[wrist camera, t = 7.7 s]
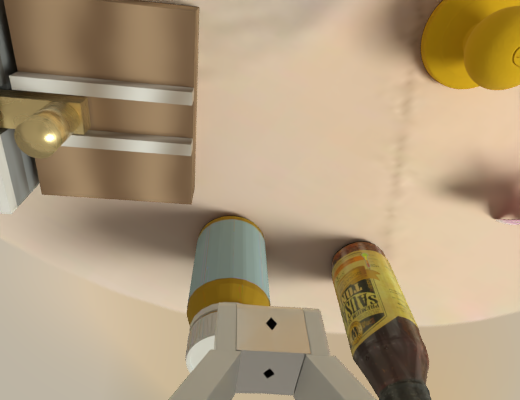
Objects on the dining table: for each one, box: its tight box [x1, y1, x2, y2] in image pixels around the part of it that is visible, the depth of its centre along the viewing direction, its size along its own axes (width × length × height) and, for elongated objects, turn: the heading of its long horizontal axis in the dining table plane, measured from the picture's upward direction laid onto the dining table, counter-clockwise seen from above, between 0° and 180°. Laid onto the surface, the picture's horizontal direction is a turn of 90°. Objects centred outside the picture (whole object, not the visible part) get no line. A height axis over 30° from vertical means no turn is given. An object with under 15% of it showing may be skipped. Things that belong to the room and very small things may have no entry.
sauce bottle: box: [332, 242, 431, 400], centre depth 36 cm, size 7×6×20 cm
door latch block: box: [0, 0, 199, 214], centre depth 31 cm, size 20×16×6 cm
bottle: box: [186, 216, 270, 373], centre depth 36 cm, size 7×7×15 cm
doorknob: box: [421, 0, 520, 90], centre depth 30 cm, size 8×8×8 cm
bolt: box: [0, 90, 91, 159], centre depth 28 cm, size 9×3×6 cm, turn 84°
